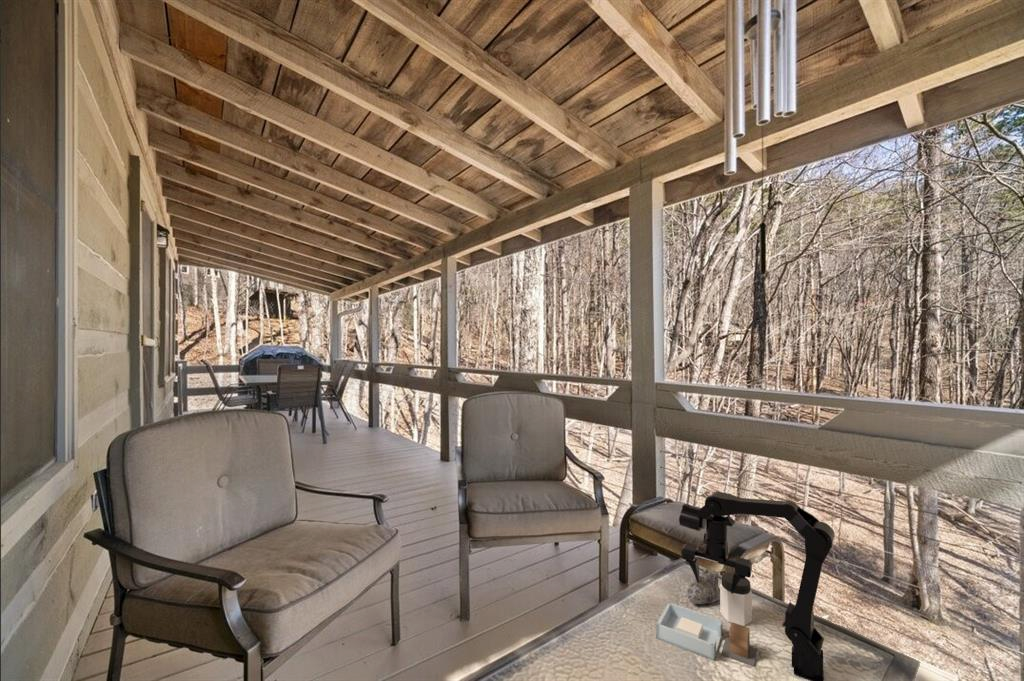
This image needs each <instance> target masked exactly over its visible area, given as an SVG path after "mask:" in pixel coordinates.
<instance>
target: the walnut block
mask: <svg viewBox="0 0 1024 681" xmlns="http://www.w3.org/2000/svg"><path fill="white" fill-rule="evenodd" d="M728 632H729V637H728V638H729V652H731V653H733V654H736V655H739V656H741V657H744V658H747V659H748V655H749V650H750V646H751V644H750V642H751V640H750V638H751V637H750V635H751V633H750V632H751V631H750V627H748V626H746V625H745V626H742V625H739V624H736V623H733V622H732V623H730V627H729V631H728Z"/></svg>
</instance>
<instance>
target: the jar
mask: <svg viewBox="0 0 1024 681" xmlns="http://www.w3.org/2000/svg"><path fill="white" fill-rule="evenodd" d="M733 575H734V572H725V573H722V575H721V583H720V584H719V589H720V599H719V601H720V602H719V612H720V614H721V615H722V617H723V618H724V619H725V620H726V621H727V623H730V624H731V623H732V622H733V623H736V624H739V625H742V626H745V627H746V626H747V625H748V624H750V623H751V622H752V621H753V591H752V590H751V589H752V586H751V581H750V580H749V579H748V577H745V579H742V578H741V579H740V580H739V582H738V583H737V585H736V587H735V589H734V592H733V594H731V586H732V581H733Z"/></svg>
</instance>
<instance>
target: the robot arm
mask: <svg viewBox="0 0 1024 681" xmlns="http://www.w3.org/2000/svg"><path fill="white" fill-rule="evenodd" d="M681 508H682V509H681V511H680V515H679V517H678V522H679V525H680V526H681V527H683V528H684V527H685V528H688V529H691V530H694V531H697V532H701V531H702V529H703V530H704V529H705V533H704V534H703V541H702V542H703V545H705V551H702V550H699V546H698V545H694V544H690V543H687V542H686V543H684V545H683V546H682V548H681V551H680V558H681V559H683V560H685V563H688V565H689V567H690V568H691V570H692V572H693V575H694V577H695V579H696V580H697V583H699V581H700V575H701V574H700V563H699V562H700V561H699V560H700V559H702V560H706V561H709V562H713V563H717V564H719V565H724V566H727V567H730V568H733V569H734V572H733V573H734V575H733V581H732V586H731V594H733V592H734V589H735V587H736V585H737V583H738V582H739V580H740V579H741V578H742V579H745V577H746V578H751V576H752V570H753V562H752V561H751V560H750V559H747V558H743V557H739V556H736V559H735V560H733V559H731V558H727V557H728V555H729V541H728V527H731V528H732V527H733V526H734V525H735V524H736V521H735V520H734V519H733V518H732V517H731V516H732V515H739V514H742V515H749V516H750V515H751V516H761V517H772V518H781V519H782V518H783V519H784V520H786V521H787V522H788V523H789V524H790V525H791V526H792V528H793V529H794V530H795V531H796V532H797V533H798V534H799V535H800V536H802V537H803V539H804V550H805V561H804V565H803V571H802V575H801V579H800V583H799V588H798V592H797V597H796V601H795V604H794V603H792V602H791V601H790V602H789V603H788V605H787V607H786V610H785V612H784V613H785V614H784V615H785V616H784V620H783V621H782V627H784V634H785V636H787V639H788V640H789V641H790V642H791V643H792V646H791V667H792V668H793V675H795V676H798V677H800V678H802V679H806V680H809V681H825V672H824V671H825V670H824V651H823V645H824V640H825V638H824V637H823V636H822V634H821V633H820V632H819V631H818V630H817V628H816V626H815V613H814V604H815V600H816V596H817V592H818V589H819V588H818V586H819V581H820V578H821V573H822V569H823V564H824V562H825V560H826V558H827V556H828V554H829V553H830V552H831V551H830V550H831V549H832V546H833V543H834V541H835V540H834V539H835V537H836V535H835V531H834V530H833V528H832V527H831V526H830V525H829V524H828V523H826V522H825V521H820V520H819V519H818V518H817V517H815V516H814V515H813V514H811V513H810V512H808V511H807V510H804V509H803V508H801V507H800V506H799V505H798V504H797V503H795V502H794V501H791V500H784V501H783V500H773V499H759V498H746V497H745V498H744V497H740V496H739V497H738V496H736V495H733V494H731V493H727V492H722V491H714V492H712V493H711V494H710V495H708V496H707V497H706V498H705V500H704V505H703V506H702V507H701V508H700V507H696V506H693V505H690V504H688V503H684V504H682V507H681Z"/></svg>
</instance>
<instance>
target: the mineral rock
mask: <svg viewBox="0 0 1024 681" xmlns="http://www.w3.org/2000/svg"><path fill="white" fill-rule="evenodd" d="M686 593H687V597H688V600H689V602H690V603H691V604H693V605H697V604H698V605H706V604H710V603H714V602H717V601H720V585H719V573H718V571H717V569H716V570H715V569H707V568H705V569H704V570H703V571H702V572H701V574H700V581H699V583H697V580H696V578H695V579H694V580H693V581H692V582H691V583H690V584H689V587H687V590H686Z"/></svg>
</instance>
